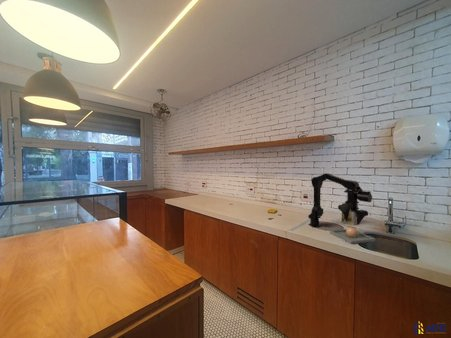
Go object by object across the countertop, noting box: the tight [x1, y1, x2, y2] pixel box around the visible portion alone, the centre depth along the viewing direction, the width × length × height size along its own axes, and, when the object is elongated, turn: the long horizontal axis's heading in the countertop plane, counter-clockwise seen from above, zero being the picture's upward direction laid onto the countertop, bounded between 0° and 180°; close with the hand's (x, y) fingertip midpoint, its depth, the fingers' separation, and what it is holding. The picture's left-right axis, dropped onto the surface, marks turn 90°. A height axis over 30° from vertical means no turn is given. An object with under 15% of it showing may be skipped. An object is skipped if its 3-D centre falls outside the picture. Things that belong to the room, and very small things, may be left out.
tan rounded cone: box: [345, 225, 358, 238], centre depth 125 cm, size 6×6×6 cm
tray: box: [329, 228, 376, 245], centre depth 125 cm, size 18×18×2 cm
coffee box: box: [341, 202, 357, 226], centre depth 153 cm, size 9×6×16 cm
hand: (351, 222), depth 124 cm, fingers open, 9 cm apart
